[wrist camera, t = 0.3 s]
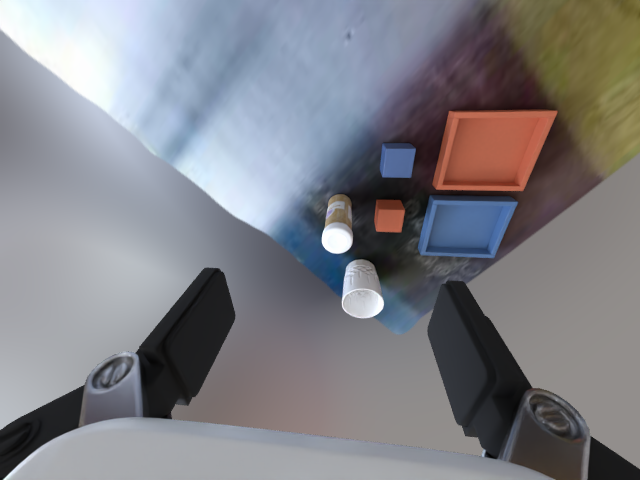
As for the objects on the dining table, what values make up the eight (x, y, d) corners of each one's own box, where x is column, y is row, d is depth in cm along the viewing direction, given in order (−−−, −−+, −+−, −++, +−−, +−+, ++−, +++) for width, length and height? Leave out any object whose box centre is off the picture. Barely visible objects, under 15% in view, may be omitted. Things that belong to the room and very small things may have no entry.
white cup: (344, 255, 53) (343, 286, 45) (381, 258, 53) (387, 290, 44) (341, 282, 57) (340, 316, 49) (375, 285, 57) (380, 320, 48)
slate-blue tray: (429, 194, 44) (433, 200, 42) (510, 196, 43) (518, 201, 41) (417, 248, 50) (420, 255, 48) (487, 250, 49) (493, 258, 47)
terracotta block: (376, 199, 46) (378, 209, 42) (400, 200, 45) (405, 210, 42) (374, 220, 48) (376, 231, 44) (397, 221, 48) (401, 232, 44)
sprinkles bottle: (334, 189, 46) (329, 223, 34) (356, 199, 46) (358, 235, 35) (324, 209, 48) (316, 247, 37) (345, 218, 49) (344, 258, 37)
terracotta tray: (449, 110, 37) (455, 112, 35) (545, 109, 36) (558, 110, 34) (432, 184, 43) (436, 189, 41) (514, 185, 42) (523, 191, 40)
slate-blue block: (382, 143, 41) (385, 148, 37) (410, 142, 40) (416, 148, 36) (379, 169, 43) (382, 177, 39) (405, 169, 42) (410, 177, 39)
